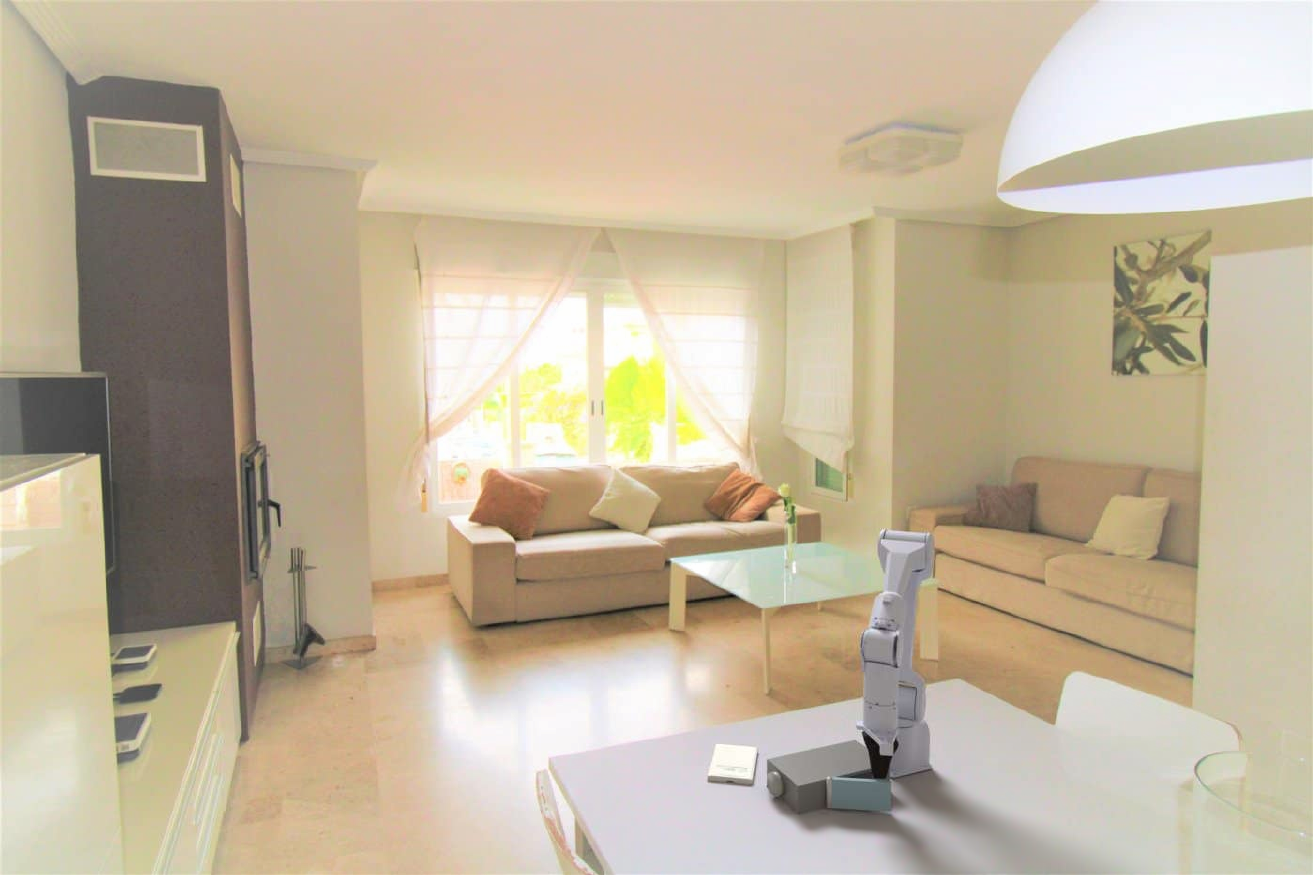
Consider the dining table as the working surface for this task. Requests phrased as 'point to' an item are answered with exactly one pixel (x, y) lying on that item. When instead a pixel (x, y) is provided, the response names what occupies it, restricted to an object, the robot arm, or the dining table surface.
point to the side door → (859, 794)
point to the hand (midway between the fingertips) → (879, 776)
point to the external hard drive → (733, 764)
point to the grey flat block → (816, 773)
